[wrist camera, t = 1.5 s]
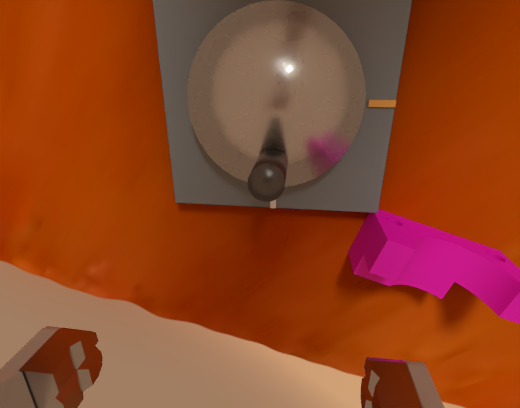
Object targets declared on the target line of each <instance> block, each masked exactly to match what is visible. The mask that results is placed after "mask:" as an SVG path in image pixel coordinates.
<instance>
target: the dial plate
mask: <svg viewBox="0 0 520 408" xmlns="http://www.w3.org/2000/svg"><path fill="white" fill-rule="evenodd" d="M261 1H270V0H153V8H154V17H155V26H156V35H157V43H158V52H159V61H160V70H161V79H162V87H163V96H164V105H165V114H166V123H167V131H168V140H169V149H170V158H171V167H172V175H173V184H174V193H175V202H176V203H193V204H213V205H233V206H253V207H270V208H292V209H312V210H332V211H352V212H371V213H378V208H379V202H380V196H381V189H382V183H383V177H384V171H385V165H386V159H387V152H388V146H389V140H390V134H391V128H392V121H393V115H394V109H395V107H396V101H397V100H396V97H397V91H398V84H399V78H400V72H401V66H402V60H403V53H404V47H405V41H406V35H407V29H408V22H409V16H410V10H411V4H412V0H285V1H292V2H297V3H301V4H304V5H307V6H309V7H312V8H314V9H316V10H318V11H319V12H321V13H323V14H325V15H326V16H327V17H329V18H330V19H331V20H332V21H334V22H335V23H336V24H337V25H338V26H339V27H340V28H341V29H342V30H343V31H344V33H345V34H346V35H347V37H348V38H349V40H350V41H351V42H352V44H353V46H354V48H355V50H356V52H357V54H358V56H359V59H360V62H361V65H362V68H363V73H364V78H365V89H366V97H365V108H364V113H363V118H362V121H361V124H360V127H359V130H358V132H357V134H356V136H355V139H354V141H353V142H352V144H351V145H350V147H349V148H348V150H347V151H346V152H345V154H344V155H343V156H342V157H341V159H340V160H339V161H338V162H336V163H335V164H334V165H333V166H332V167H331V168H330V169H328V170H327V171H326V172H324V173H323V174H321V175H319V176H318V177H316V178H314V179H312V180H309V181H307V182H304V183H301V184H298V185H294V186H288V187H285V188H284V191H283V193H282V194H281V196H280V197H279V198H277V199H276V200H273V201H269V202H264V201H260V200H258V199H256V198H255V197H253V196H252V195H251V193H250V192H249V189H248V185H247V182H245V181H242V180H240V179H238V178H236V177H234V176H232V175H231V174H229V173H228V172H226V171H225V170H223V169H222V168H221V167H220V166H219V165H217V164H216V163H215V162H214V161H213V160H212V158H211V157H210V156H209V155H208V154H207V152H206V151H205V150H204V148H203V147H202V145H201V144H200V142H199V140H198V138H197V136H196V134H195V131H194V129H193V127H192V123H191V120H190V116H189V110H188V104H187V87H188V78H189V73H190V69H191V65H192V63H193V60H194V57H195V55H196V53H197V51H198V49H199V47H200V45H201V43H202V42H203V40H204V39H205V37H206V36H207V35H208V33H209V32H210V31H211V30H212V29H213V28H214V27H215V26H216V25H217V24H218V23H219V22H220V21H221V20H223V19H224V18H225V17H226V16H228V15H229V14H231V13H233V12H234V11H236V10H238V9H240V8H242V7H245V6H247V5H249V4H253V3H257V2H261Z"/></svg>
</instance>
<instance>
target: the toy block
mask: <svg viewBox="0 0 520 408" xmlns="http://www.w3.org/2000/svg"><path fill="white" fill-rule="evenodd" d="M348 254H349V258H350V262H351V266H352V271H353V274H355V275H358V276H361V277H364V278H367V279H370V280H372V281H375V282H378V283H381V284H384V285H387V286H392V285H399V284H400V285H409V286H413V287H416V288H419V289H422V290H424V291H427V292H429V293H431V294H433V295H435V296H437V297H439V298H440V299H442V298H443V297H444V296H445V294H446V293H447V292H448V290H449V289H450V287H451V286H452V285H453V283H454V282H456V283H458V284H459V285H461V286H462V287H464V288H466V289H467V290H469V291H470V292H471V293H473V294H474V295H476V296H477V297H478V298H480V299H481V300H482V301H483V302H484V303H486V304H487V305H488V306H489V307H490V308H491V309H492V310H493V311H494V312H495V313H496V314H497V315H498V316H499V317H501V318H504V319H507V320H510V321H513V322H516V323H520V269H519V268H518V267H517V266H516V265H515V264H513V263H512V262H511V261H510V260H509V259H508V258H507V257H506V256H505V255H504V254H503V253H502V252H501V251H499V250H496V249H493V248H490V247H487V246H484V245H482V244H479V243H476V242H473V241H470V240H467V239H464V238H461V237H458V236H455V235H452V234H450V233H447V232H444V231H441V230H438V229H435V228H432V227H429V226H426V225H423V224H420V223H418V222H415V221H412V220H409V219H406V218H403V217H400V216H397V215H394V214H391V213H388V212H386V211H383V210H380V209H378V213H371V212H369V213H368V215H367V217H366V219H365V221H364V223H363V225H362V227H361V229H360V230H359V232H358V234H357V236H356V238H355V240H354V242H353V244H352V246H351V248H350V250H349V252H348Z"/></svg>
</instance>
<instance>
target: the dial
mask: <svg viewBox="0 0 520 408" xmlns="http://www.w3.org/2000/svg"><path fill="white" fill-rule="evenodd" d="M365 97H366V89H365V78H364V73H363V68H362V65H361V62H360V59H359V56H358V54H357V52H356V50H355V48H354V46H353V44H352V42H351V41H350V40H349V38H348V37H347V35H346V34H345V33H344V31H343V30H342V29H341V28H340V27H339V26H338V25H337V24H336V23H335V22H334V21H332V20H331V19H330V18H329V17H327V16H326V15H325V14H323V13H321V12H319V11H318V10H316V9H314V8H312V7H309V6H307V5H304V4H301V3H297V2H292V1H285V0H270V1H261V2H257V3H253V4H249V5H247V6H245V7H242V8H240V9H238V10H236V11H234V12H233V13H231V14H229V15H228V16H226V17H225V18H224V19H223V20H221V21H220V22H219V23H218V24H217V25H216V26H215V27H214V28H213V29H212V30H211V31H210V32H209V33H208V35H207V36H206V37H205V39H204V40H203V42H202V43H201V45H200V47H199V49H198V51H197V53H196V55H195V57H194V60H193V63H192V65H191V69H190V73H189V78H188V87H187V104H188V110H189V116H190V120H191V123H192V127H193V129H194V131H195V134H196V136H197V138H198V140H199V142H200V144H201V145H202V147H203V148H204V150H205V151H206V152H207V154H208V155H209V156H210V157H211V158H212V160H213V161H214V162H215V163H216V164H217V165H219V166H220V167H221V168H222V169H223V170H225V171H226V172H228V173H229V174H231V175H232V176H234V177H236V178H238V179H240V180H242V181H245V182H247V185H248V189H249V192H250V193H251V195H252V196H253V197H255V198H256V199H258V200H260V201H264V202H269V201H273V200H276V199H277V198H279V197H280V196H281V194H282V193H283V191H284V188H285V187H288V186H294V185H298V184H301V183H304V182H307V181H309V180H312V179H314V178H316V177H318V176H319V175H321V174H323V173H324V172H326V171H327V170H328V169H330V168H331V167H332V166H333V165H334V164H335V163H336V162H338V161H339V160H340V159H341V157H342V156H343V155H344V154H345V152H346V151H347V150H348V148H349V147H350V145H351V144H352V142H353V141H354V139H355V136H356V134H357V132H358V130H359V127H360V124H361V121H362V118H363V113H364V108H365Z"/></svg>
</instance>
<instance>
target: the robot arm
mask: <svg viewBox="0 0 520 408" xmlns="http://www.w3.org/2000/svg"><path fill="white" fill-rule="evenodd" d="M97 342H98V339H97V335H96V333H95V332H92V331H85V330H77V329H69V328H59V327H50V326H47V327H45V328H43V329H41V330H40V331H39V332H38V333H37V334H36V335H35V336H34V337H33V338H32V339H31V340H30V341H29V342H28V343H27V344H26V345H25V346H24V347H23V348H22V349H21V350H20V351H19V352H18V353H16V354H15V355H14V356H13V358H11V359H10V360H9V361H8V362H7V363H6V364H5V365H4V366H3V367H2V368H1V369H0V408H77V407H78V406H79V405H80V403H81V402H82V400H83V391H84V390H86V389H87V388H89V387H90V386H92V385H93V384H94V382H95V381H96V379H97V378H98V376H99V373H100V370H101V367H102V354H101V351H100V350H99V349H98V348H97V347H96V346H95V345H96V344H97ZM364 370H365V375H366V376H365V377H364V378H362V384H361V405H362V408H444V406H443V403H442V401H441V399H440V396H439V394H438V392H437V389H436V387H435V385H434V382H433V380H432V378H431V376H430V373H429V371H428V369H427V366H426V365H425V364H424V363H423V362H415V361H402V360H393V359H381V358H369V357H367V358H366V360H365V364H364Z"/></svg>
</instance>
